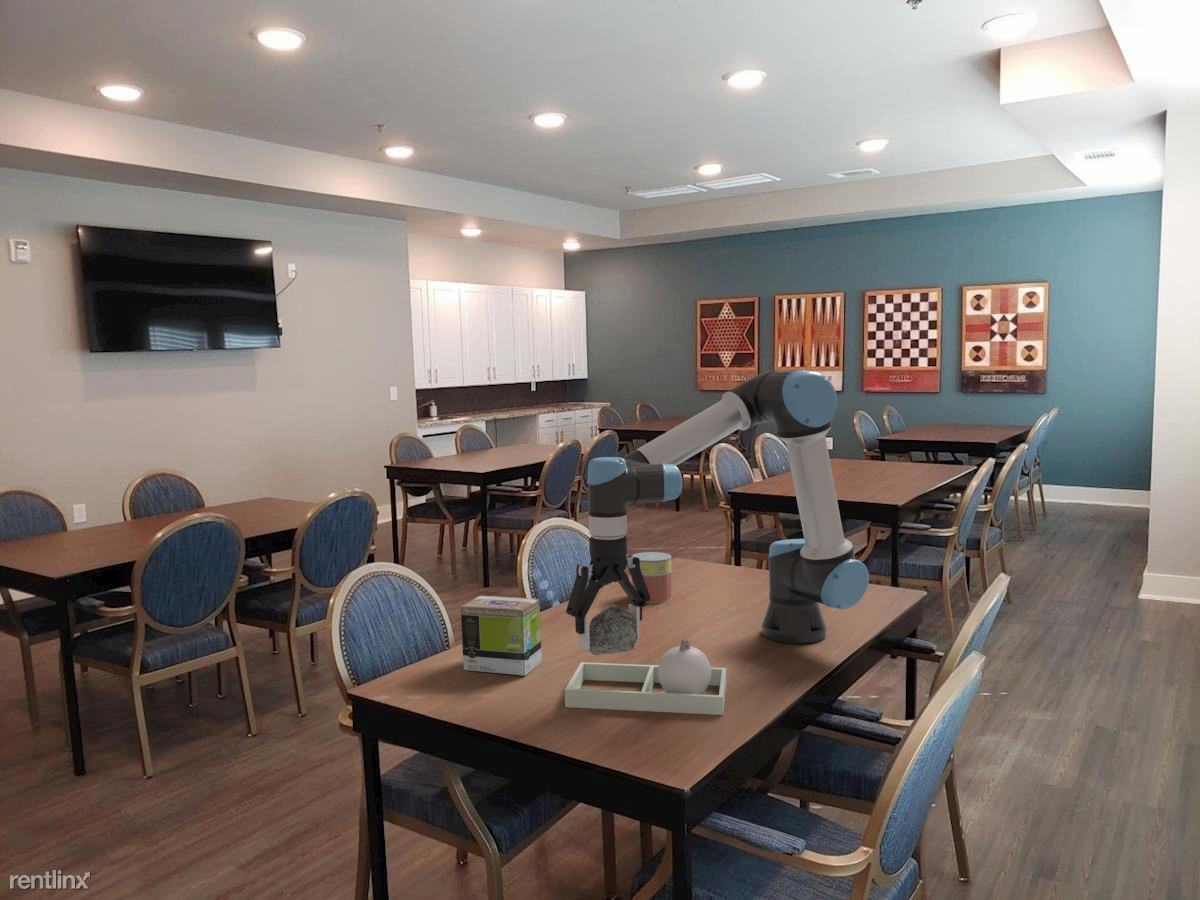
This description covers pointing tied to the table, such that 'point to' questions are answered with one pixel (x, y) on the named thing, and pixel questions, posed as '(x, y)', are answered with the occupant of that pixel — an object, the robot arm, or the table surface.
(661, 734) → the table surface
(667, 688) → the ornament
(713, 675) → the holder
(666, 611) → the table surface
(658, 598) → the canned food
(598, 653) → the stone
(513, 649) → the tea box
